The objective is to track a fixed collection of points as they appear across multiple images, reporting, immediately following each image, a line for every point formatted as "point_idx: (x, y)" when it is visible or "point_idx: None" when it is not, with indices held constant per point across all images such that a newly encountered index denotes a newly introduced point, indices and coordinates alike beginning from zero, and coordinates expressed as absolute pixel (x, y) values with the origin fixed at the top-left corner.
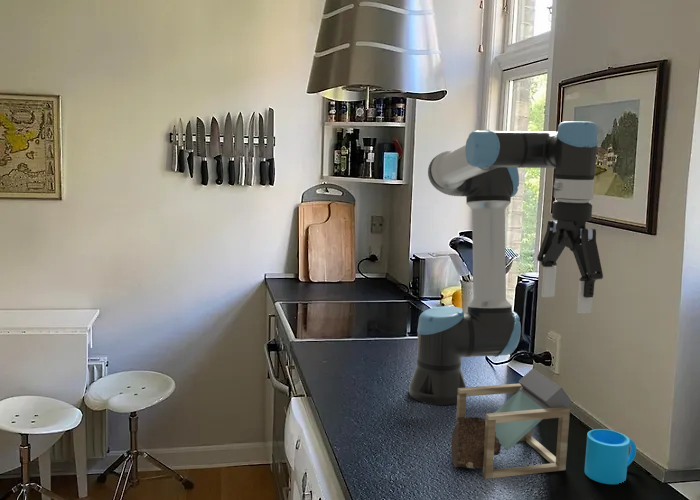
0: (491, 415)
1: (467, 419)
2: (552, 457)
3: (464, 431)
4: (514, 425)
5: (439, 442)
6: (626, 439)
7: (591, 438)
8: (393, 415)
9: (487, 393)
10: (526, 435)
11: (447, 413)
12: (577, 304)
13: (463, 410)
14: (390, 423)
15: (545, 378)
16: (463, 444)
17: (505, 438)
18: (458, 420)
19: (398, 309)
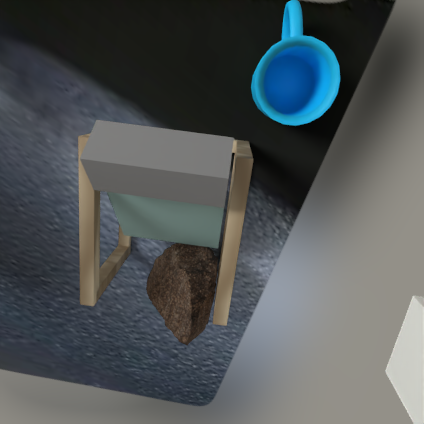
0: (222, 319)
1: (192, 332)
2: None
3: (201, 328)
4: (188, 225)
5: None
6: (321, 49)
7: (287, 121)
8: (3, 284)
9: (98, 247)
10: None
11: (5, 203)
12: (412, 420)
13: (109, 276)
14: (32, 300)
15: (154, 171)
16: (208, 319)
17: (199, 240)
18: (188, 343)
19: None
